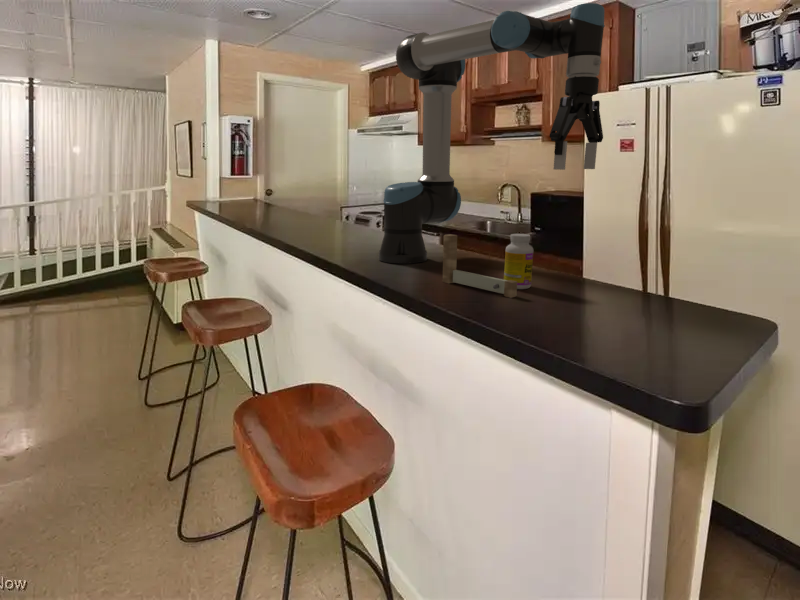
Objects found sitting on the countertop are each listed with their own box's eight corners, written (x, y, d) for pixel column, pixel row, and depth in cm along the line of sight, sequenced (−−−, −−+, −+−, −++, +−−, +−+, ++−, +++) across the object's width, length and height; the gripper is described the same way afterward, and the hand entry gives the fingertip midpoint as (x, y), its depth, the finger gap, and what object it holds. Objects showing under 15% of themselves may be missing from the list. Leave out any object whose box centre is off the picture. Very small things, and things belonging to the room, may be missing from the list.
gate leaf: (450, 282, 134) (450, 270, 133) (456, 281, 135) (456, 269, 135) (501, 294, 122) (502, 281, 121) (507, 293, 124) (508, 280, 123)
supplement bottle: (525, 291, 127) (529, 237, 124) (499, 287, 130) (502, 235, 127) (534, 285, 133) (538, 234, 129) (509, 282, 136) (512, 232, 133)
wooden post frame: (442, 281, 136) (443, 235, 133) (449, 280, 138) (450, 234, 135) (510, 297, 121) (513, 245, 118) (516, 296, 122) (520, 244, 119)
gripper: (567, 69, 116) (559, 170, 122) (623, 80, 132) (614, 169, 138) (538, 73, 122) (532, 169, 127) (595, 84, 138) (587, 168, 143)
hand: (574, 169), depth 133 cm, fingers open, 13 cm apart
